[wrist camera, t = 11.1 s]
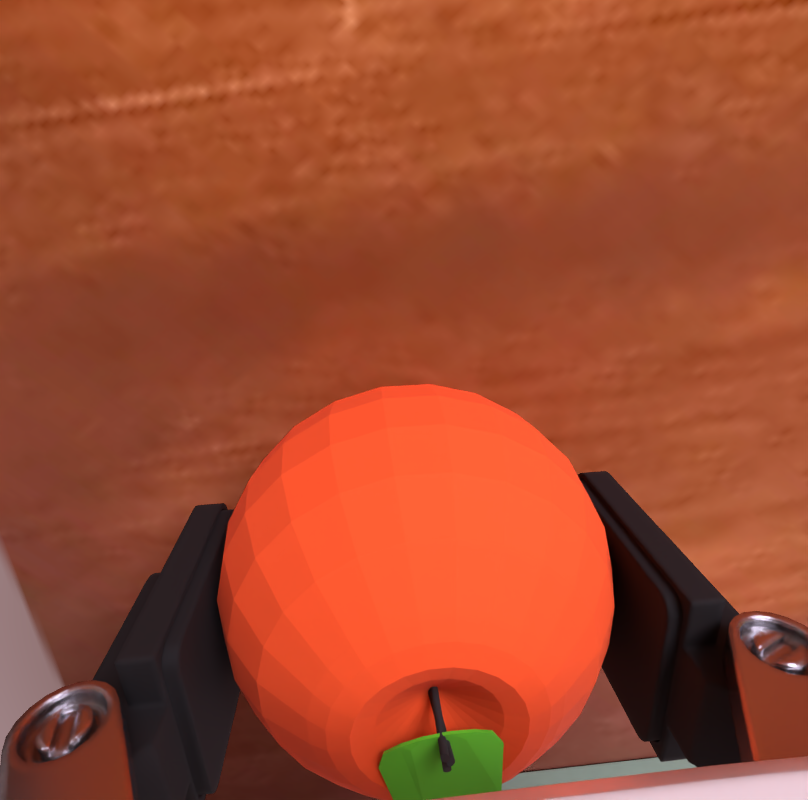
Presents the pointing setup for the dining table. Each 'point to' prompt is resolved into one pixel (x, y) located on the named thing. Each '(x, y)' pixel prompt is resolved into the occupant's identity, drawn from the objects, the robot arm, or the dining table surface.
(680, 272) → the dining table surface
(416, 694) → the clementine
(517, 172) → the dining table surface
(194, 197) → the dining table surface
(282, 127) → the dining table surface
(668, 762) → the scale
